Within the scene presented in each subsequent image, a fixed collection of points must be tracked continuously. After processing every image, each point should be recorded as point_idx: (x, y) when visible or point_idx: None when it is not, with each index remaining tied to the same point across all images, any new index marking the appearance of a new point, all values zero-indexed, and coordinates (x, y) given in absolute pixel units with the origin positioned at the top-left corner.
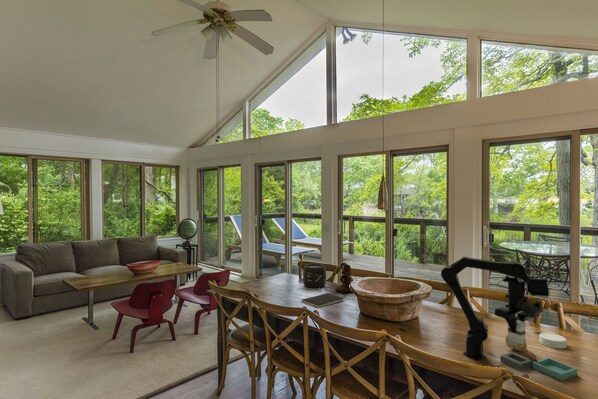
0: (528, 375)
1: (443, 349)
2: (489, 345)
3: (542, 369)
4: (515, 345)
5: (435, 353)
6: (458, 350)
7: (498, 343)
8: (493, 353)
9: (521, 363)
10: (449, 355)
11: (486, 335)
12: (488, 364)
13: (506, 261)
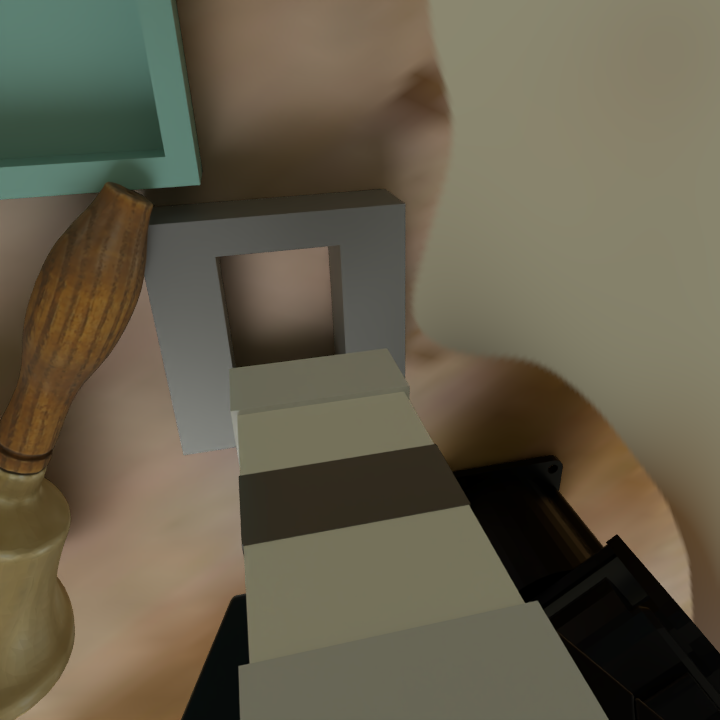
0: (399, 81)
1: None
2: (185, 635)
3: (179, 43)
4: (67, 533)
5: (684, 585)
6: None
7: None
8: None
9: (368, 217)
10: (638, 550)
11: (661, 623)
12: (530, 379)
13: None
